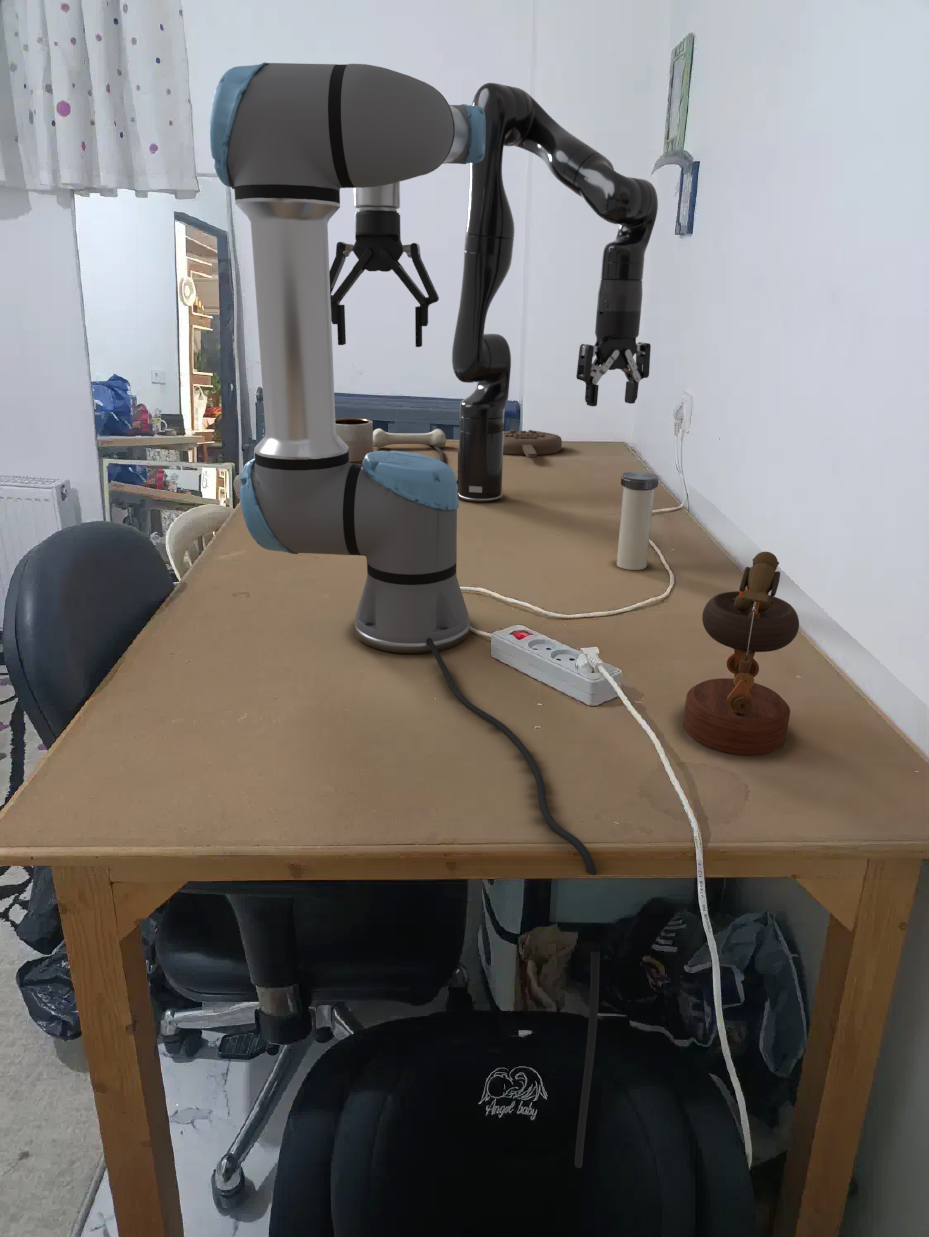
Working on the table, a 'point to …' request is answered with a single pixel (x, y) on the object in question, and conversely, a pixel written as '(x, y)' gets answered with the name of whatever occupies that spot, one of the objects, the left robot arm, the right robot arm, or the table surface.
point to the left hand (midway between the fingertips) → (380, 345)
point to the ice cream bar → (530, 443)
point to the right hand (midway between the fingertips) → (610, 404)
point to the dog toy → (408, 438)
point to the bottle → (635, 528)
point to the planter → (356, 437)
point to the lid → (639, 480)
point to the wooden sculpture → (744, 666)
